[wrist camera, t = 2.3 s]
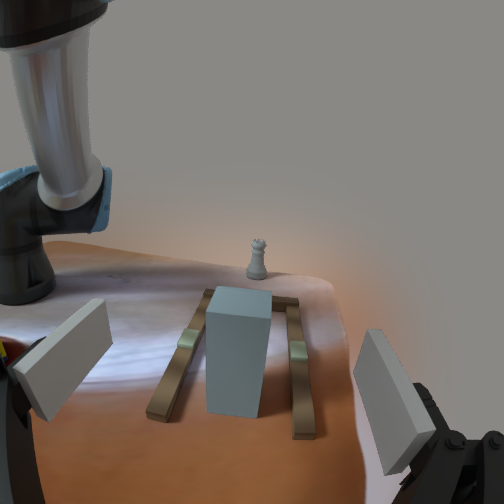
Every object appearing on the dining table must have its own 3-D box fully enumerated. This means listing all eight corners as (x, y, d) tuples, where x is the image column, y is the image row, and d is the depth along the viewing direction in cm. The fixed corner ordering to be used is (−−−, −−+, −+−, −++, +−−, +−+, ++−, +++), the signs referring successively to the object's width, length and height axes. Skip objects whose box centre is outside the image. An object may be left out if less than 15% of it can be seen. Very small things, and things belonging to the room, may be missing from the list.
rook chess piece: (241, 274, 61) (244, 239, 59) (257, 271, 64) (260, 237, 62) (254, 282, 58) (258, 244, 56) (270, 278, 61) (274, 242, 59)
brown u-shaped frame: (313, 439, 22) (317, 429, 21) (147, 418, 22) (144, 406, 22) (296, 307, 48) (298, 298, 48) (205, 297, 49) (206, 288, 49)
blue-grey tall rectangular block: (256, 418, 24) (271, 318, 21) (206, 412, 25) (205, 311, 21) (259, 386, 29) (271, 291, 26) (215, 380, 29) (217, 285, 26)
